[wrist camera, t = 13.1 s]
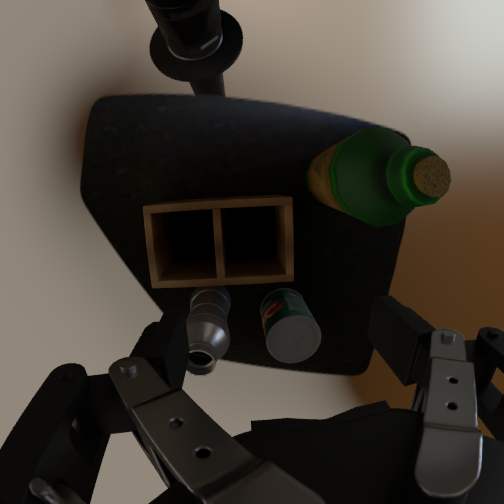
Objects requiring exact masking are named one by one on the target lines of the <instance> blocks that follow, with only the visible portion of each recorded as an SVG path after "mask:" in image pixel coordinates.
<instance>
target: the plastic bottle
mask: <svg viewBox="0 0 504 504" xmlns="http://www.w3.org/2000/svg"><path fill="white" fill-rule="evenodd" d="M230 307H231V297H230V295H229V293H228V291H227V289H226V288H225V287H224V286H222V285H221V286H199V287H198V288H197V289H196V290H195V291H194V292H193V293H192V296H191V299H190V308H191V309H190V314H189V316H188V318H187V319H186V327H187V334H188V340H189V360H188V364H187V369H186V371H187V372H188V373H190V374H191V375H194V376H206V375H208V374H210V373H211V372H212V371H213V370H214V368H215V366H216V362H217V360H218V359H219V358H221V357H222V356H223V355H224V354H225V352H226V351H227V349H228V347H229V344H230V333H229V329H228V326H227V315H228V313H229V310H230Z"/></svg>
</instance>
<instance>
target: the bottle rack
mask: <svg viewBox="0 0 504 504" xmlns="http://www.w3.org/2000/svg"><path fill="white" fill-rule="evenodd" d="M255 206H275V226H276V256H277V257H258V258H240V259H227V248H226V232H225V214H224V208H235V207H255ZM201 209H213V226H214V241H215V255H216V260H202V261H183V262H173V257H172V247H171V236H170V225H169V212H174V211H187V210H201ZM143 213H144V224H145V234H146V243H147V252H148V260H149V268H150V275H151V283H152V288H174V287H199V286H221V285H241V284H258V283H274V282H290V281H294V246H293V199H292V197H289V196H284V195H258V196H237V197H219V198H203V199H189V200H177V201H165V202H159V203H155V204H151V205H146V206H143Z"/></svg>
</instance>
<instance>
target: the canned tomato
mask: <svg viewBox="0 0 504 504" xmlns="http://www.w3.org/2000/svg"><path fill="white" fill-rule="evenodd" d="M260 311H261V317H262V322H263V328H264V333H265V338H266V344H267V348H268V351H269V352H270V354H271V355H272V356H273V357H274V358H275V359H277V360H279V361H281V362H285V363H296V362H300V361H303V360H305V359H307V358H309V357H310V356H312V355H313V354H314V353H315V351H316V350H317V349H318V347H319V345H320V342H321V331H320V328H319V326H318V324H317V323H316V321H315V319H314V317H313V316H312V314H311V312H310V310H309V309H308V307H307V305H306V303H305V301H304V299H303V297H302V296H301V295H300V294H299V293H298V292H297V291H295V290H293V289H289V288H280V289H276V290H274V291H272V292H270V293H269V294H268V295H267V296H266V297H265V298H264V300H263V301H262V304H261V309H260Z"/></svg>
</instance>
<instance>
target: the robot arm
mask: <svg viewBox="0 0 504 504" xmlns="http://www.w3.org/2000/svg"><path fill="white" fill-rule="evenodd" d="M145 1H146V3H147V5H148V7H149V9H150V11H151V13H152V15H153V17H154V19H155V20H156V22H157V25H158V27H159V29H160V30H161V32H162V34H163V36H164V38H165V40H166V43H167V44H168V48H169V50H170V52H171V53H172V54H173V55H174V56H175V57H176V58H178V59H180V60H184V61H199V60H203V59H205V58H207V57H209V56H211V55H212V54H214V53H215V52H216V51H217V50H218V49H219V47H220V45H221V43H222V39H223V36H222V30H221V19H220V8H219V0H145ZM369 339H370V342H371V344H372V345H373V346H374V348H375V349H376V350H377V351H378V353H379V354H380V355H381V357H382V358H383V359H384V360H385V362H386V363H387V364H388V366H389V367H390V368H391V369H392V371H393V372H394V373H395V375H396V376H397V377H398V379H399V380H400V381H401V383H402V384H403V385H404V386H408V385H411V384H414V383H417V386H416V389H415V392H414V396H413V401H412V405H411V409H410V410H408V409H397V408H395V409H394V408H392V409H391V408H390V407H389V405H388V404H387V402H386V401H385V400H384V401H380V402H376V403H372V404H368V405H363V406H359V407H355V408H353V409H350V410H348V411H346V412H343V413H341V414H338V415H335V416H333V417H330V418H328V419H322V420H319V419H294V418H282V419H271V420H257V421H251V431H249V432H244V433H242V434H239V435H236V436H234V437H231V436H230V435H229V434H228V433H227V432H226V431H224V430H223V429H222V428H221V427H220V426H219V425H218V424H217V423H216V422H215V421H214V420H213V419H212V418H211V417H210V416H209V415H207V414H206V413H205V412H204V411H203V410H202V409H201V408H200V407H199V406H198V405H197V404H196V403H195V402H194V401H193V400H192V399H191V398H190V397H189V396H188V395H187V394H186V393H185V391H183V390H182V386H183V381H184V377H185V373H186V369H187V364H188V360H189V340H188V334H187V327H186V320H185V314H184V311H183V310H165V312H164V313H163V315H162V317H161V320H160V321H159V322H153V323H151V324H150V325H148V326H147V327H146V328H145V329H144V331H143V333H142V336H140V338H139V340H138V342H137V343H136V345H135V347H134V349H133V351H132V353H131V354H130V356H129V357H125V358H122V359H119V360H117V361H116V362H114V363H113V364H112V365H111V366H110V368H109V373H107V374H101V375H92V376H87V373H86V370H85V368H84V367H83V366H82V365H80V364H76V363H68V364H64V365H61V366H59V367H57V368H55V369H54V370H53V371H52V372H51V373H50V374H49V376H48V377H47V379H46V380H45V381H44V383H43V384H42V386H41V387H40V388H39V390H38V391H37V393H36V394H35V396H34V397H33V398H32V400H31V401H30V403H29V405H28V406H27V407H26V409H25V410H24V412H23V413H22V415H21V416H20V418H19V420H18V421H17V423H16V424H15V426H14V427H13V429H12V431H11V432H10V434H9V436H8V437H7V439H6V441H5V442H4V444H3V445H2V447H1V449H0V504H90V502H91V498H92V494H93V491H94V487H95V483H96V480H97V477H98V473H99V470H100V466H101V463H102V459H103V456H104V453H105V450H106V447H107V444H108V441H109V438H110V435H111V434H115V433H124V432H132V433H133V435H134V436H135V438H136V440H137V441H138V443H139V445H140V446H141V448H142V449H143V451H144V452H145V454H146V455H147V457H148V458H149V460H150V461H151V463H152V464H153V466H154V467H155V469H156V470H157V472H158V474H159V475H160V477H161V479H162V480H163V482H164V483H165V485H166V486H167V487H168V489H167V490H165V491H164V492H163V493H162V494H160V495H159V496H158V497H157V498H155V499H154V500H153V501H151V502H150V503H149V504H504V394H502V393H501V392H500V391H499V390H498V389H497V388H496V387H495V386H494V384H493V383H492V382H491V380H492V377H493V375H494V373H495V370H496V368H497V367H498V368H499V369H500V370H501V371H502V372H503V373H504V332H503V331H501V330H500V329H497V328H494V327H483V328H481V329H480V330H479V332H478V335H477V339H476V340H464V337H463V336H462V335H461V334H460V333H459V332H457V331H455V330H452V329H446V328H441V329H437V330H436V329H435V328H434V327H433V326H431V325H430V324H429V323H428V322H427V321H425V320H424V319H422V317H421V316H419V315H417V313H416V312H414V311H413V310H412V309H410V308H408V307H406V306H403V305H402V304H401V303H400V302H398V301H397V300H396V299H394V298H393V297H392V296H383V297H375V298H374V299H373V302H372V309H371V316H370V324H369ZM477 415H478V416H479V418H480V419H481V420H482V422H483V423H484V424H485V426H486V427H487V428H488V429H489V431H490V432H491V433H492V435H493V436H494V437H495V439H493V438H489V437H487V436H484V435H482V432H481V431H480V430H478V429H477Z"/></svg>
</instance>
